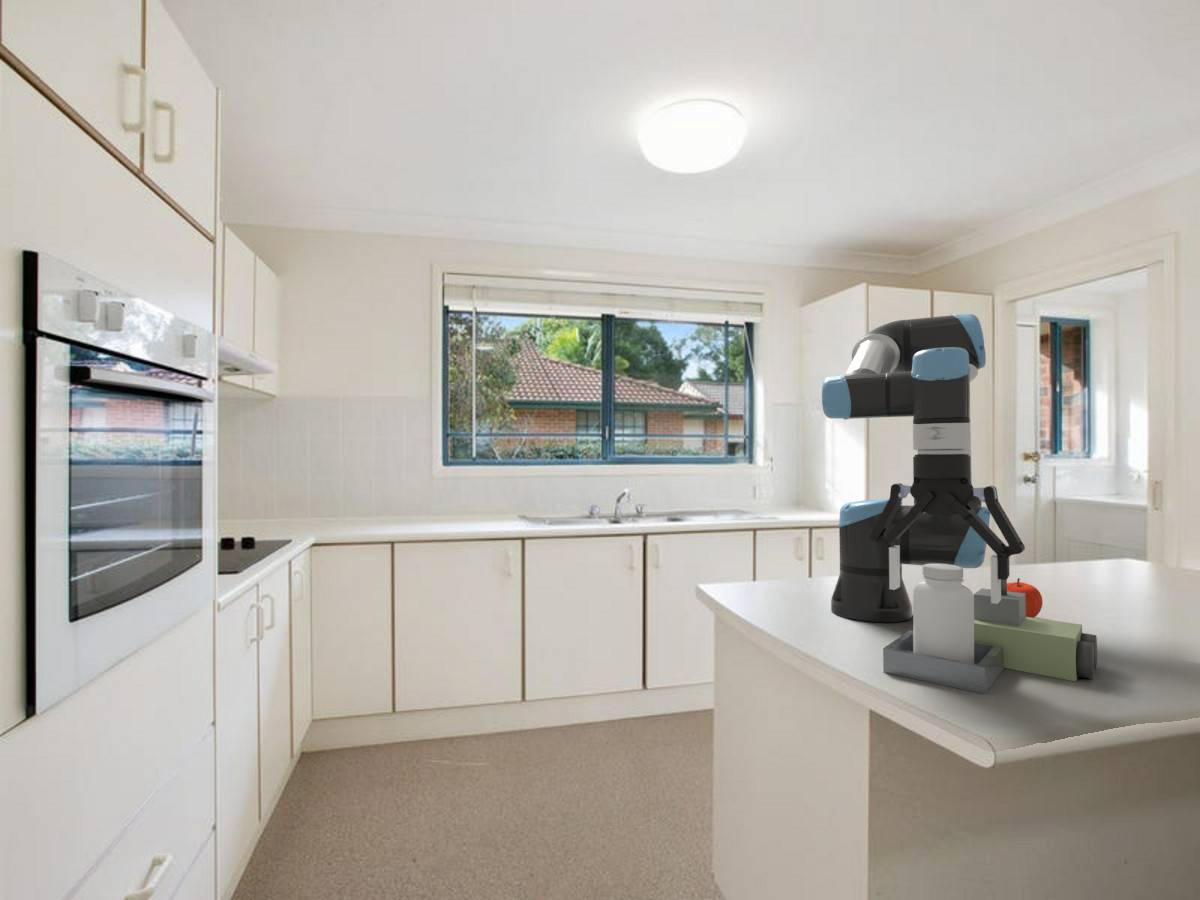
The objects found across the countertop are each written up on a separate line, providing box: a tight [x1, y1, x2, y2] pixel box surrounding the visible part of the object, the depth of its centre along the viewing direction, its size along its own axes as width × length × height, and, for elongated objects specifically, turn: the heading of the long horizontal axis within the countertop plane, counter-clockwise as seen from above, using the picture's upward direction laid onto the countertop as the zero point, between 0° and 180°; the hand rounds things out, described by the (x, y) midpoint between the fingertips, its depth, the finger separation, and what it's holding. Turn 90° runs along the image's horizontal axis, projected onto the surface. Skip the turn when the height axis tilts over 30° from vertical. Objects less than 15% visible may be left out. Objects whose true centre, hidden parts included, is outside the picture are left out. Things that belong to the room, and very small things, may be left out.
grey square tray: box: [882, 629, 1005, 695], centre depth 92 cm, size 13×13×4 cm
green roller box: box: [973, 579, 1098, 682], centre depth 98 cm, size 21×11×13 cm, turn 48°
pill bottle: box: [912, 564, 974, 664], centre depth 92 cm, size 8×8×15 cm
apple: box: [1007, 577, 1044, 618], centre depth 122 cm, size 8×8×8 cm
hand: (942, 594), depth 93 cm, fingers open, 13 cm apart
